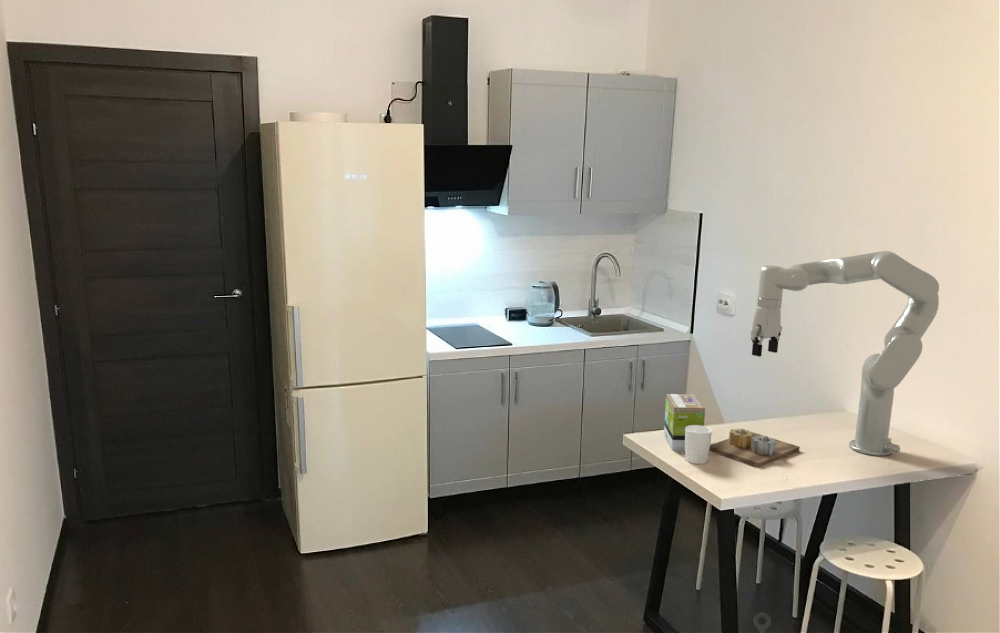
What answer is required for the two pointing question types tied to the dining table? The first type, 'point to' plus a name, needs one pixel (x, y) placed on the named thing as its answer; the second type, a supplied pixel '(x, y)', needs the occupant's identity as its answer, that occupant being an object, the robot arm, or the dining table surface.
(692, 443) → the white cup
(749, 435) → the brass gear
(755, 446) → the grey gear
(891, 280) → the robot arm
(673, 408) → the tea box
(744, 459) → the gear board
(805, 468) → the dining table surface
